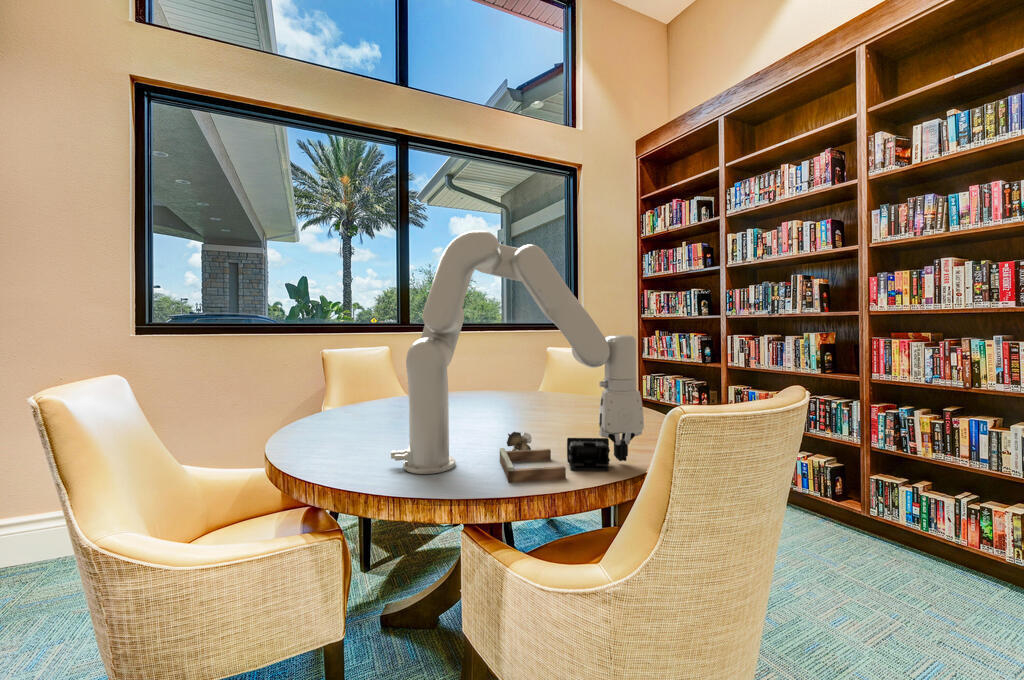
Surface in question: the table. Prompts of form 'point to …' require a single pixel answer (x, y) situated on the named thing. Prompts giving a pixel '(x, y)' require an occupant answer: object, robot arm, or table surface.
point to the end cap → (588, 454)
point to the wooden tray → (529, 473)
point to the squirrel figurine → (519, 441)
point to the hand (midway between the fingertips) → (620, 459)
